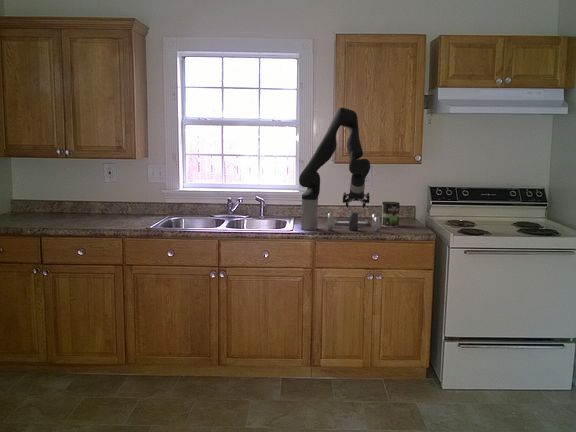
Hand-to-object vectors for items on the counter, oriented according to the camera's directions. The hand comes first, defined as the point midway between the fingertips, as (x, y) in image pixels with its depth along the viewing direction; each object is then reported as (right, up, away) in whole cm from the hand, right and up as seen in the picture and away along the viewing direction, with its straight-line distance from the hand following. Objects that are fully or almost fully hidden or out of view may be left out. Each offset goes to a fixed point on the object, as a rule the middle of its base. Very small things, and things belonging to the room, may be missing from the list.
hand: (355, 206), depth 299 cm
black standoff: (0, -13, +12) cm, 18 cm away
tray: (+2, -10, +36) cm, 38 cm away
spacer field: (+1, -13, +17) cm, 21 cm away
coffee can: (+24, -11, +29) cm, 40 cm away
